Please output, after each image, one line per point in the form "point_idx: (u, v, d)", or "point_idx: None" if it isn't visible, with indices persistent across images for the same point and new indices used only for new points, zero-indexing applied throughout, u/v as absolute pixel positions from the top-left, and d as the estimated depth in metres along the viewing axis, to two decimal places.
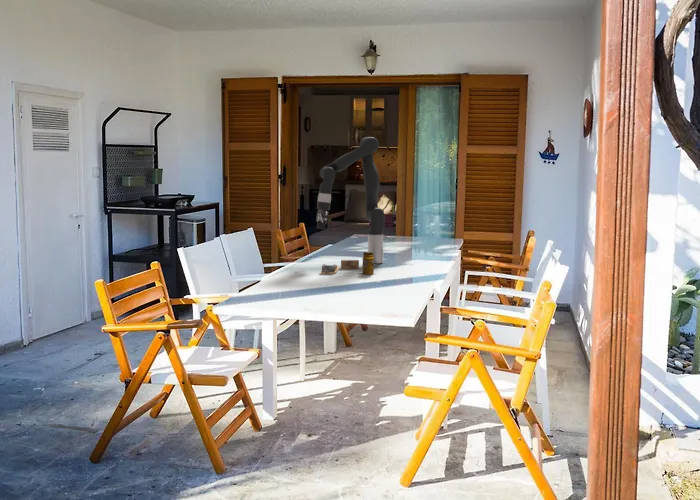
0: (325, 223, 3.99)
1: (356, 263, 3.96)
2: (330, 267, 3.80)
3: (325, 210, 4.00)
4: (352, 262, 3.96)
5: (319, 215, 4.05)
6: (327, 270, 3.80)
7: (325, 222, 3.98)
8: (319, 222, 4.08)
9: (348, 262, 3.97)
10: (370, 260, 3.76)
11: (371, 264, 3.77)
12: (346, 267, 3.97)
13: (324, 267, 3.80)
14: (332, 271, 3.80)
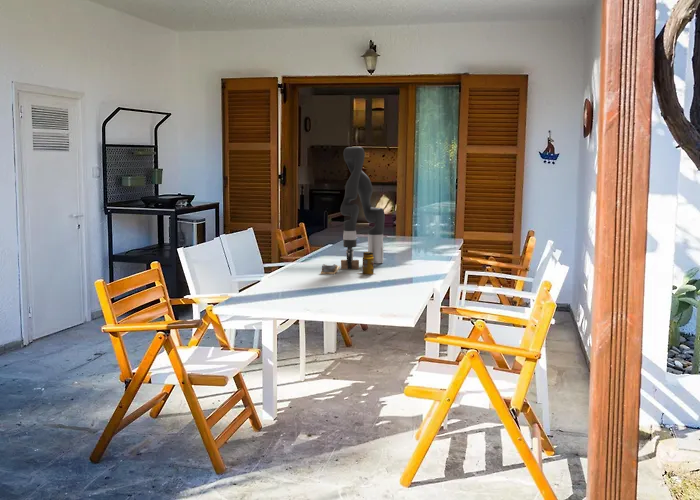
0: (350, 262, 3.95)
1: (356, 263, 3.96)
2: (330, 267, 3.80)
3: (349, 248, 3.93)
4: (352, 262, 3.96)
5: None
6: (327, 270, 3.80)
7: (349, 261, 3.94)
8: None
9: None
10: (370, 260, 3.76)
11: (371, 264, 3.77)
12: (346, 267, 3.97)
13: (324, 267, 3.80)
14: (332, 271, 3.80)
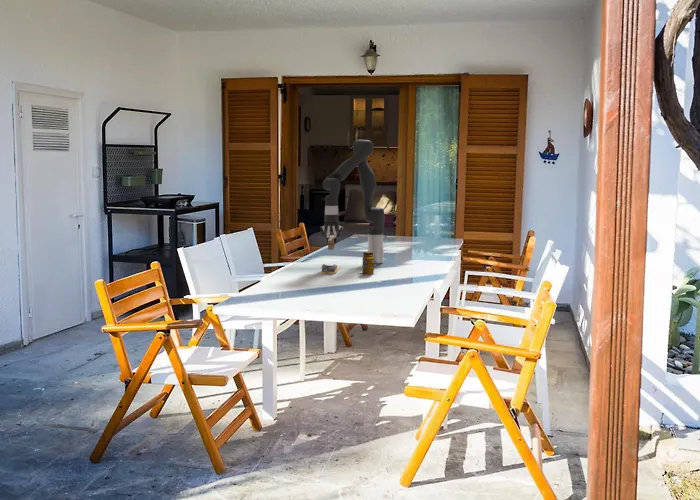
0: (326, 237, 3.93)
1: (328, 243, 3.90)
2: (330, 267, 3.80)
3: (325, 222, 3.93)
4: None
5: None
6: (327, 270, 3.80)
7: None
8: (334, 237, 3.94)
9: None
10: (370, 260, 3.76)
11: (371, 264, 3.77)
12: None
13: (324, 267, 3.80)
14: (332, 271, 3.80)
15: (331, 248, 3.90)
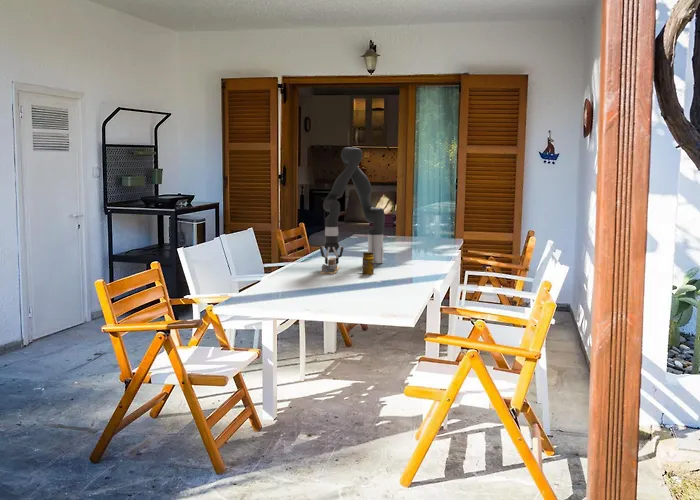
0: (324, 257, 3.95)
1: (328, 262, 3.92)
2: (330, 267, 3.80)
3: (325, 243, 3.94)
4: None
5: None
6: (327, 270, 3.80)
7: (323, 256, 3.96)
8: (336, 258, 3.95)
9: None
10: (370, 260, 3.76)
11: (371, 264, 3.77)
12: None
13: (324, 267, 3.80)
14: (332, 271, 3.80)
15: None
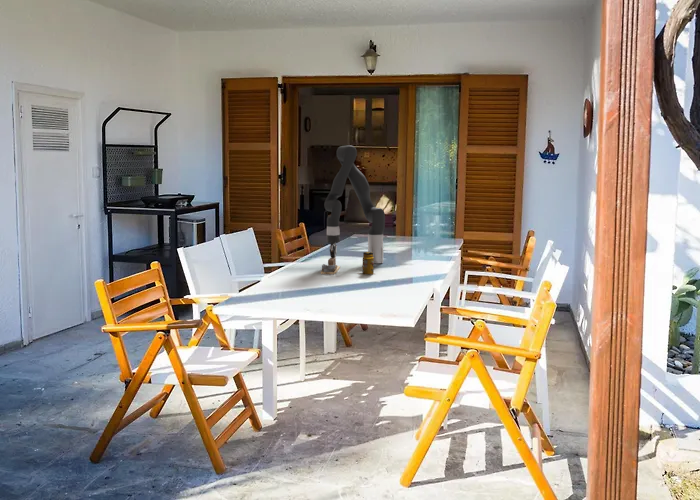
0: (334, 257, 4.01)
1: (328, 262, 3.92)
2: (330, 267, 3.80)
3: (332, 243, 3.98)
4: None
5: None
6: (327, 270, 3.80)
7: (333, 256, 4.00)
8: (333, 257, 4.03)
9: None
10: (370, 260, 3.76)
11: (371, 264, 3.77)
12: None
13: (324, 267, 3.80)
14: (332, 271, 3.80)
15: None
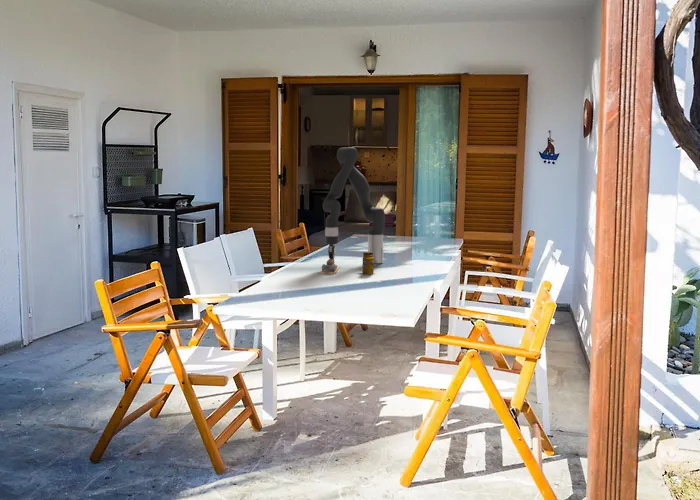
0: None
1: None
2: (330, 267, 3.80)
3: (331, 244, 3.92)
4: None
5: None
6: (327, 270, 3.80)
7: (331, 258, 3.95)
8: (332, 258, 3.97)
9: None
10: (370, 260, 3.76)
11: (371, 264, 3.77)
12: None
13: (324, 267, 3.80)
14: (332, 271, 3.80)
15: None
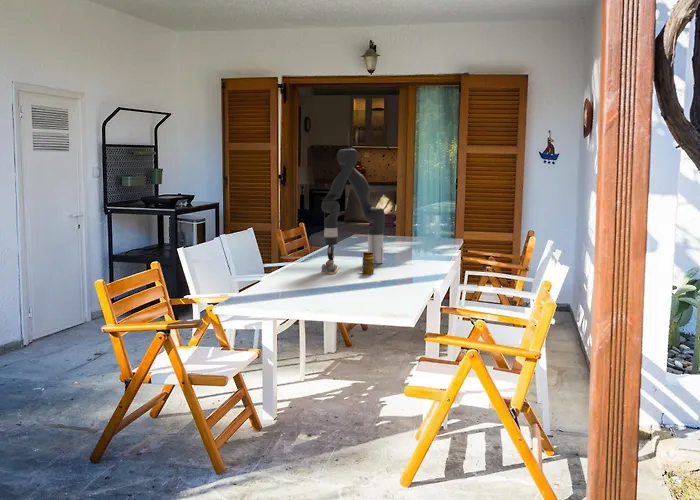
0: None
1: None
2: (330, 267, 3.80)
3: (330, 245, 3.88)
4: None
5: None
6: (327, 270, 3.80)
7: (330, 259, 3.91)
8: (331, 259, 3.93)
9: None
10: (370, 260, 3.76)
11: (371, 264, 3.77)
12: None
13: (324, 267, 3.80)
14: (332, 271, 3.80)
15: None
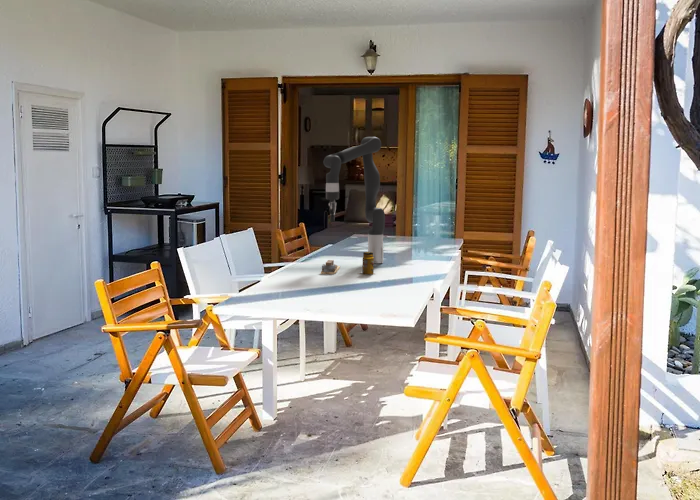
0: (333, 215, 3.95)
1: None
2: (330, 267, 3.80)
3: (332, 200, 3.92)
4: None
5: None
6: (327, 270, 3.80)
7: (332, 214, 3.94)
8: None
9: None
10: (370, 260, 3.76)
11: (371, 264, 3.77)
12: None
13: (324, 267, 3.80)
14: (332, 271, 3.80)
15: None
